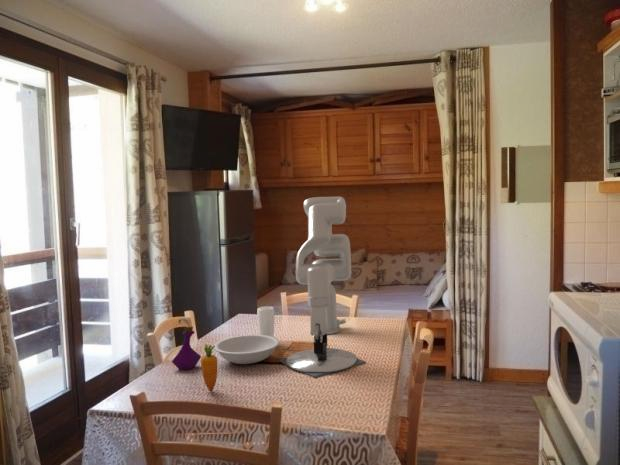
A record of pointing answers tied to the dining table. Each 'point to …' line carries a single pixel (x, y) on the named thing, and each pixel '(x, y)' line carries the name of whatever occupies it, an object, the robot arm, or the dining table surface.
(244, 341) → the soup bowl
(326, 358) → the lid
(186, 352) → the perfume bottle
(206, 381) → the carrot
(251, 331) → the dining table surface
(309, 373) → the mat
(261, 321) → the drinking glass
